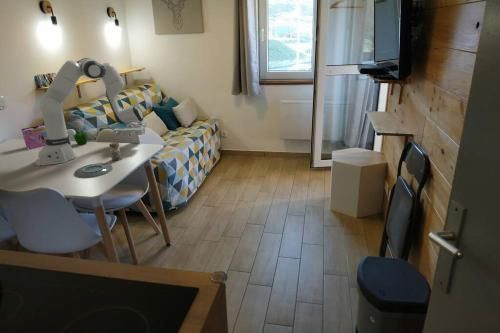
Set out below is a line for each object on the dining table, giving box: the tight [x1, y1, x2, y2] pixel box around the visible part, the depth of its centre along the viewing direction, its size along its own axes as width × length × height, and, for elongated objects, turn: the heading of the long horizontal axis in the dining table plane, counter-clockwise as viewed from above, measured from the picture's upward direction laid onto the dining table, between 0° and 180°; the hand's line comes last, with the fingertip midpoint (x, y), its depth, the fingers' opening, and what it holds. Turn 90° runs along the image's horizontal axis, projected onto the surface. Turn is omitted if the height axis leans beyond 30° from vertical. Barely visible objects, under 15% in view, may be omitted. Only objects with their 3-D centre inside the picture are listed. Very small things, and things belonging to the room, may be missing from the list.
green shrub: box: [73, 129, 88, 146], centre depth 248 cm, size 8×8×10 cm
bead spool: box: [108, 142, 122, 162], centre depth 215 cm, size 6×6×10 cm
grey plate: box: [74, 162, 113, 179], centre depth 200 cm, size 20×20×2 cm
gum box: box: [21, 124, 48, 150], centre depth 249 cm, size 24×8×14 cm, turn 135°
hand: (123, 134), depth 223 cm, fingers open, 8 cm apart
